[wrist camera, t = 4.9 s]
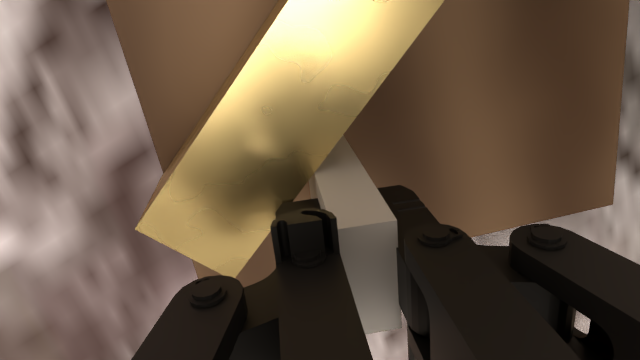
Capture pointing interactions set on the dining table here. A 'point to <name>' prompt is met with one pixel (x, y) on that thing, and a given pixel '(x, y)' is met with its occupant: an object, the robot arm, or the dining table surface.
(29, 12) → the dining table surface
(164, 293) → the dining table surface
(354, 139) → the board
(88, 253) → the dining table surface
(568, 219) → the dining table surface
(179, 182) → the latch bar
